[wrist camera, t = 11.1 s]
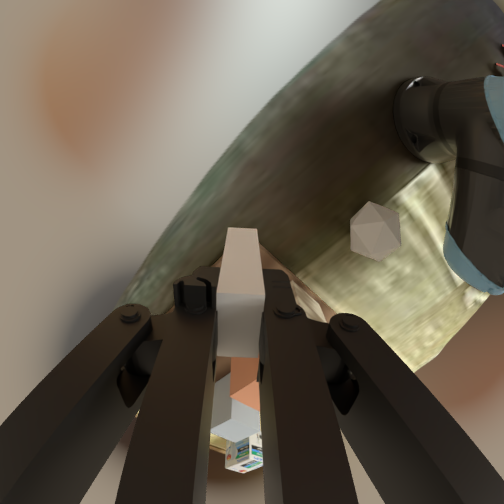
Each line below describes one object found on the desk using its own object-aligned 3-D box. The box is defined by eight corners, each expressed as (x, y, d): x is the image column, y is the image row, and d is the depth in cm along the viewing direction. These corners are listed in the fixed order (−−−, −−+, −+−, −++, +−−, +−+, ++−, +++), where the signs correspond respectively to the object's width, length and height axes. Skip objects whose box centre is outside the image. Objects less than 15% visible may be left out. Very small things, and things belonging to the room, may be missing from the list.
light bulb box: (248, 426, 63) (249, 458, 53) (267, 432, 65) (269, 463, 55) (225, 438, 66) (224, 468, 56) (243, 444, 68) (243, 473, 58)
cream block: (261, 307, 45) (265, 356, 34) (292, 280, 44) (306, 326, 33) (289, 328, 47) (299, 378, 36) (319, 304, 46) (338, 351, 34)
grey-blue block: (211, 385, 53) (206, 431, 42) (232, 370, 51) (231, 418, 40) (235, 398, 55) (235, 442, 44) (257, 385, 53) (260, 431, 42)
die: (341, 252, 45) (388, 280, 38) (328, 223, 38) (385, 253, 32) (366, 216, 45) (413, 240, 39) (358, 184, 39) (413, 207, 32)
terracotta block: (231, 346, 49) (229, 396, 38) (258, 325, 47) (262, 375, 36) (258, 363, 51) (261, 412, 40) (285, 344, 49) (294, 393, 38)
